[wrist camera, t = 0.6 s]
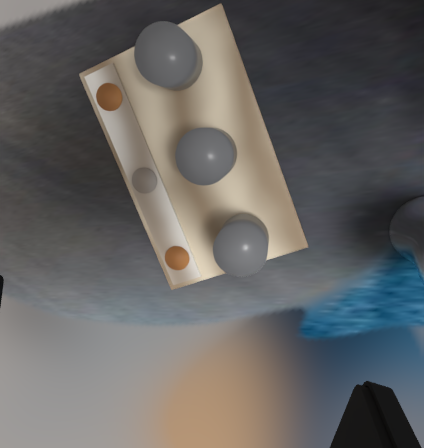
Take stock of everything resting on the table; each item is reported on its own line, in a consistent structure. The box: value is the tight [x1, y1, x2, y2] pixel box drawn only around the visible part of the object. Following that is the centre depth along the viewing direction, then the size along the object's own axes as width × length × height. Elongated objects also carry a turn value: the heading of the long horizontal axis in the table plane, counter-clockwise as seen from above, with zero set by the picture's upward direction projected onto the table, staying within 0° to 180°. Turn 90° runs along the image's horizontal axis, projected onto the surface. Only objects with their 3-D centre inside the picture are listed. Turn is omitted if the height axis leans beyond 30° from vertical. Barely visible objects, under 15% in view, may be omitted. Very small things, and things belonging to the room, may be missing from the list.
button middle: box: [175, 128, 237, 186], centre depth 32 cm, size 4×4×4 cm
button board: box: [79, 4, 308, 290], centre depth 35 cm, size 14×22×2 cm, turn 21°
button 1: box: [134, 21, 203, 91], centre depth 30 cm, size 4×4×4 cm
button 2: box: [213, 214, 269, 277], centre depth 33 cm, size 4×4×4 cm
